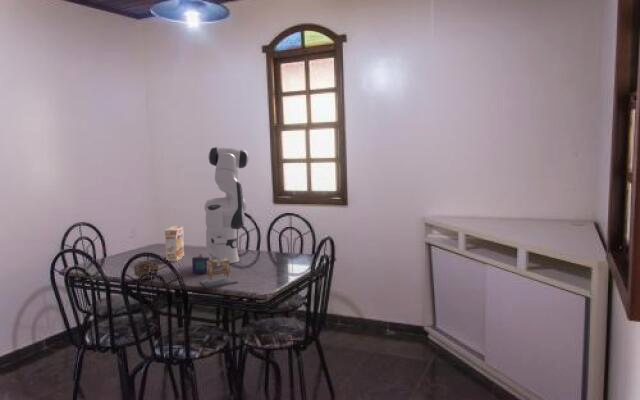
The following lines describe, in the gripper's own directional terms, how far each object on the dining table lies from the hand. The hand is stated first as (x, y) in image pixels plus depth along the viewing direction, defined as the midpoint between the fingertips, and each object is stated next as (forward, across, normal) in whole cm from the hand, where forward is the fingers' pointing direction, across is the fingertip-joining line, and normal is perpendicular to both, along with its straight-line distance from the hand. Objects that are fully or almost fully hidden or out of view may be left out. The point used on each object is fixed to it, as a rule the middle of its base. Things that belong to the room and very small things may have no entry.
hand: (216, 264), depth 235 cm
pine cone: (+10, -29, -25) cm, 39 cm away
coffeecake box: (+10, -65, -4) cm, 66 cm away
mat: (+10, 0, +1) cm, 10 cm away
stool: (+3, 0, +6) cm, 7 cm away
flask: (+10, -23, -1) cm, 25 cm away
